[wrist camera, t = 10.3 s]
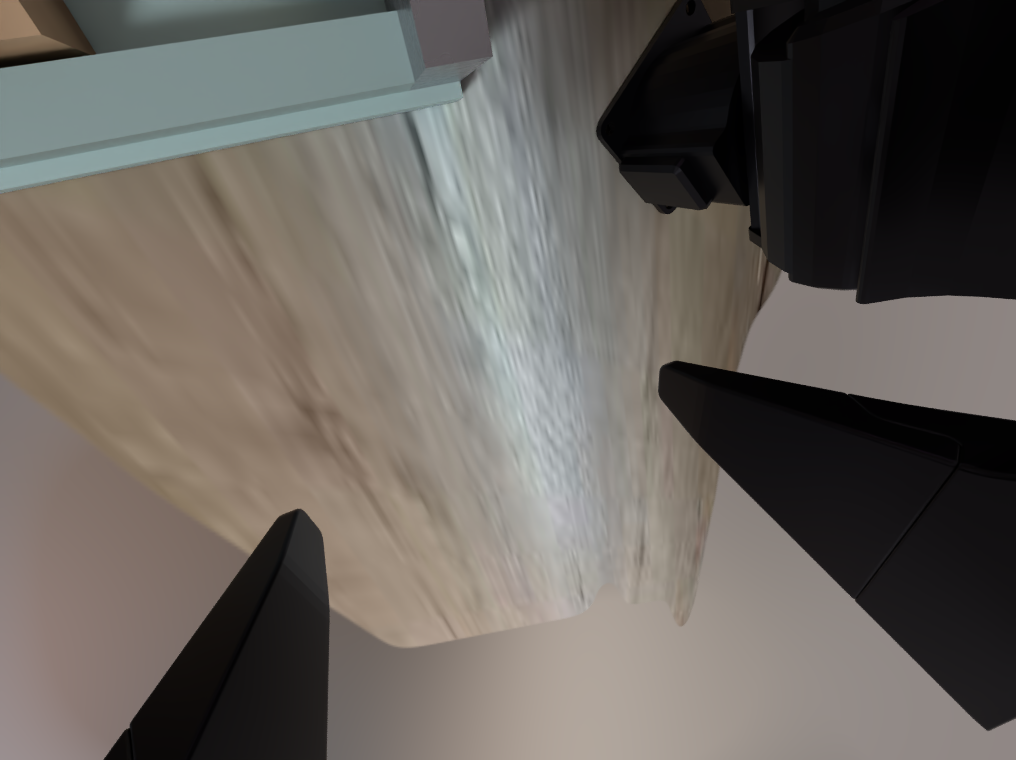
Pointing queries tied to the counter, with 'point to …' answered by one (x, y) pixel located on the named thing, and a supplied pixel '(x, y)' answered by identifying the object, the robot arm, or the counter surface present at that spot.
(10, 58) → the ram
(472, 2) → the grey angular block
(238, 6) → the board
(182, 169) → the counter surface
